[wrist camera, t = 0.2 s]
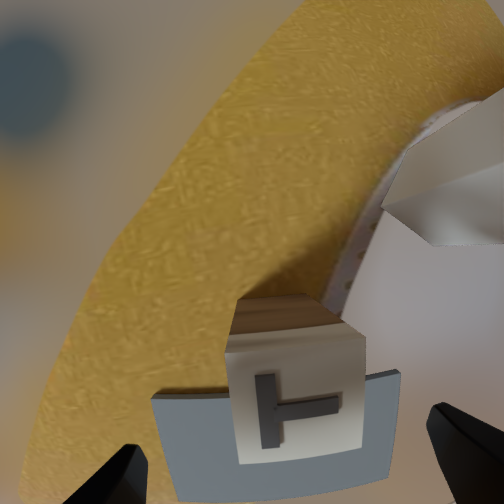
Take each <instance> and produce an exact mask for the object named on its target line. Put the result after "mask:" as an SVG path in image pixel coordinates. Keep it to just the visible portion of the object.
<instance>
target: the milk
mask: <svg viewBox="0 0 504 504" xmlns="http://www.w3.org/2000/svg"><path fill="white" fill-rule="evenodd" d="M381 207H382V208H383V209H384V210H386V211H387V212H388V213H390V214H391V215H393V216H394V217H395V218H397V219H398V220H399V221H401V222H402V223H403V224H405V225H406V226H407V227H409V228H410V229H411V230H413V231H414V232H415V233H417V234H418V235H419V236H421V237H422V238H423V239H424V240H426V241H427V242H428V243H430V244H431V245H432V246H456V245H486V244H504V88H502V89H501V90H499V91H498V92H496V93H495V94H493V95H492V96H490V97H489V98H487V99H485V100H484V101H482V102H481V103H479V104H478V105H476V106H475V107H473V108H472V109H470V110H468V111H467V112H465V113H464V114H462V115H461V116H459V117H458V118H456V119H455V120H453V121H451V122H450V123H448V124H447V125H445V126H444V127H442V128H441V129H439V130H438V131H436V132H434V133H433V134H431V135H430V136H428V137H427V138H425V139H424V140H422V141H421V142H419V143H417V144H416V145H414V146H413V147H411V148H410V149H408V150H407V153H406V155H405V157H404V159H403V161H402V163H401V166H400V168H399V170H398V172H397V174H396V176H395V178H394V180H393V182H392V184H391V186H390V188H389V190H388V192H387V194H386V196H385V198H384V200H383V202H382V204H381Z"/></svg>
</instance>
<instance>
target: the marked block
mask: <svg viewBox="0 0 504 504" xmlns="http://www.w3.org/2000/svg"><path fill="white" fill-rule="evenodd" d="M225 361H226V370H227V378H228V386H229V394H230V401H231V409H232V416H233V424H234V431H235V438H236V445H237V451H238V458H239V464H255V463H268V462H278V461H287V460H295V459H303V458H310V457H316V456H322V455H328V454H333V453H339V452H344V451H348V450H353V449H358V448H362V436H363V421H364V403H365V371H366V369H365V368H366V337H365V336H364V335H362V334H361V333H359V332H358V331H357V330H355V329H354V328H352V327H351V326H350V325H348V324H347V323H345V322H344V321H343V320H341V319H340V318H339V317H337V316H336V315H335V314H333V313H332V312H330V311H329V310H328V309H326V308H325V307H324V306H322V305H321V304H319V303H318V302H317V301H315V300H314V299H313V298H311V297H310V296H308V295H307V294H306V293H305V294H295V295H286V296H275V297H265V298H254V299H242V300H238V301H237V305H236V309H235V313H234V317H233V321H232V325H231V329H230V333H229V337H228V341H227V346H226V350H225Z"/></svg>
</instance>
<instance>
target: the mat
mask: <svg viewBox="0 0 504 504" xmlns="http://www.w3.org/2000/svg"><path fill="white" fill-rule="evenodd" d="M400 378H401V373H400V372H399V371H398V370H396V369H393V370H389V371H384V372H380V373H375V374H370V375H365V403H364V421H363V436H362V448H358V449H353V450H348V451H344V452H339V453H333V454H328V455H322V456H316V457H310V458H303V459H295V460H287V461H278V462H268V463H255V464H239V458H238V451H237V445H236V438H235V431H234V424H233V416H232V409H231V401H230V394H229V393H211V394H154V395H153V396H152V398H151V402H152V407H153V411H154V416H155V420H156V424H157V428H158V432H159V436H160V440H161V443H162V447H163V451H164V454H165V458H166V461H167V465H168V468H169V472H170V475H171V478H172V481H173V485H174V488H175V491H176V494H177V497H178V500H179V501H182V502H209V503H228V502H254V501H267V500H279V499H287V498H296V497H303V496H309V495H315V494H322V493H327V492H333V491H338V490H343V489H347V488H351V487H356V486H360V485H364V484H368V483H372V482H375V481H379V480H383V479H386V478H388V475H389V470H390V464H391V457H392V452H393V445H394V438H395V431H396V423H397V413H398V404H399V391H400Z"/></svg>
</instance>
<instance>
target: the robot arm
mask: <svg viewBox="0 0 504 504" xmlns="http://www.w3.org/2000/svg"><path fill="white" fill-rule="evenodd" d="M426 426H427V431H428V433H429V436H430V439H431V442H432V445H433V448H434V451H435V454H436V457H437V460H438V463H439V465H440V468H441V470H442V472H443V474H444V477H445V479H446V481H447V483H448V485H449V488H450V490H451V492H452V494H453V497H454V499H455V501H456V504H504V432H503V431H501V430H499V429H497V428H495V427H493V426H491V425H489V424H487V423H485V422H483V421H481V420H479V419H477V418H475V417H473V416H471V415H469V414H467V413H465V412H463V411H461V410H459V409H457V408H455V407H453V406H451V405H449V404H448V403H445V402H441V403H438V404H436V405H433V407H432V408H431V411H430V414H429V417H428V420H427V423H426ZM147 475H148V461H147V459H146V457H145V455H144V453H143V451H142V449H141V448H140V446H139V445H137V444H125V445H124V446H123V447H122V448H121V449H120V450H119V451H117V452H116V453H115V454H114V455H113V456H112V457H111V458H110V459H109V460H108V461H107V462H106V463H105V464H104V465H103V466H102V467H101V468H100V469H99V470H98V471H97V472H96V473H95V474H94V475H93V476H91V477H90V478H89V479H88V480H87V481H86V482H85V483H84V484H83V485H82V486H81V487H80V488H79V489H78V490H77V491H75V492H74V493H73V494H72V495H71V496H70V497H69V498H68V499H67V500H66V501H65V502H63V503H62V504H146V492H147Z"/></svg>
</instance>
